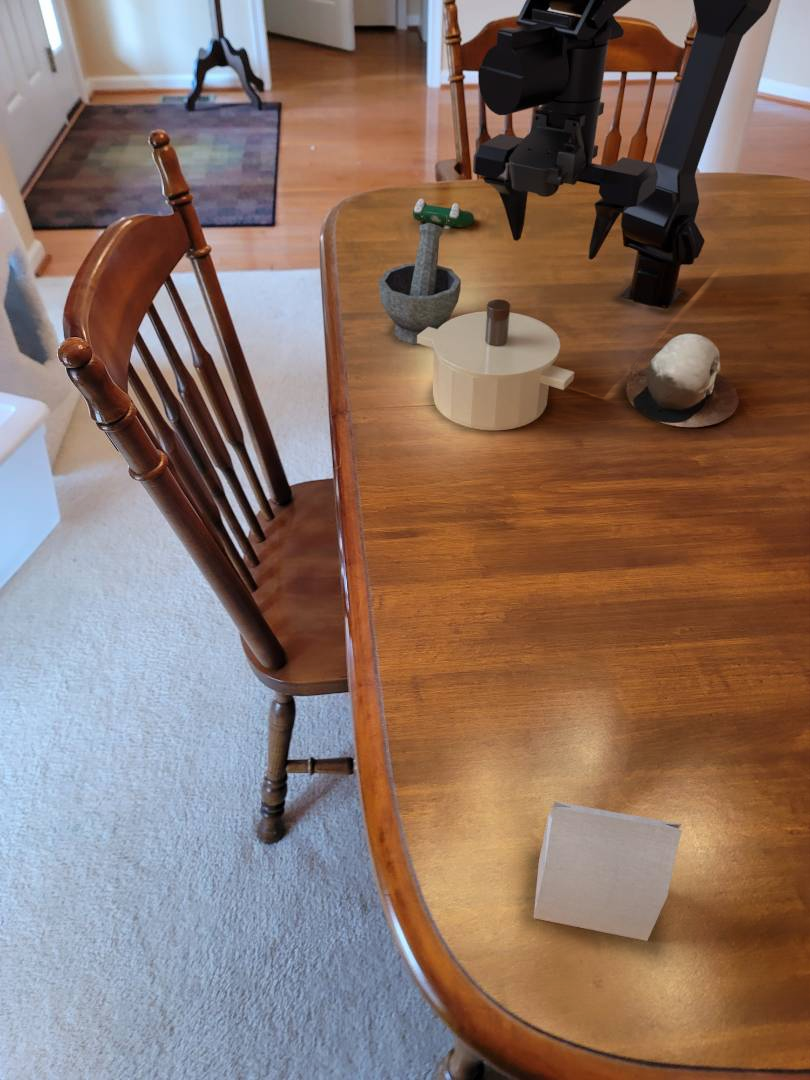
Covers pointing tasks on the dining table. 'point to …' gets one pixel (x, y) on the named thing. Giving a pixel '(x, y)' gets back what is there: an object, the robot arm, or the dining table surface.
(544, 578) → the dining table surface
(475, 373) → the lid
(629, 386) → the skull
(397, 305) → the mortar and pestle
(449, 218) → the green toy car
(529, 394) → the pot
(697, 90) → the robot arm
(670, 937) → the dining table surface
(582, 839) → the white rectangular box
